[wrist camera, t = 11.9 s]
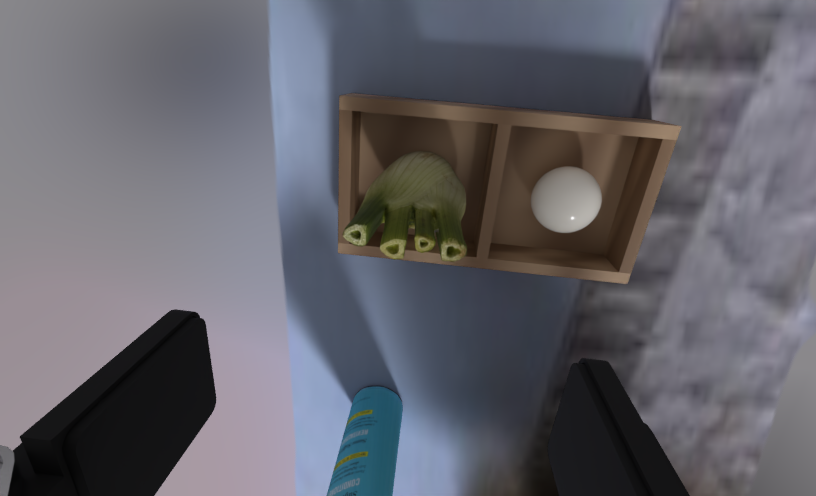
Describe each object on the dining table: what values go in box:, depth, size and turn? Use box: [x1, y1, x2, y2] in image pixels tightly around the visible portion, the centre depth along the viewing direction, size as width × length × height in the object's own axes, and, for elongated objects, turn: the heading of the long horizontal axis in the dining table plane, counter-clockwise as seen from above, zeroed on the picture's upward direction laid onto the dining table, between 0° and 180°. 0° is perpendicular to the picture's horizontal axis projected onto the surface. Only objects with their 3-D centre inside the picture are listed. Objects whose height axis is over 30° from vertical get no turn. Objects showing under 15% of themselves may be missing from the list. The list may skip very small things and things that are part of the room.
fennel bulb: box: [343, 151, 467, 262], centre depth 24 cm, size 6×5×12 cm
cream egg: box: [531, 166, 602, 233], centre depth 27 cm, size 4×4×4 cm
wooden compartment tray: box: [338, 93, 681, 284], centre depth 28 cm, size 20×11×4 cm, turn 86°
